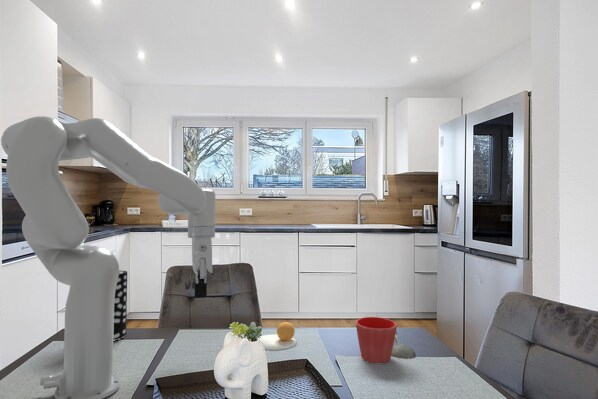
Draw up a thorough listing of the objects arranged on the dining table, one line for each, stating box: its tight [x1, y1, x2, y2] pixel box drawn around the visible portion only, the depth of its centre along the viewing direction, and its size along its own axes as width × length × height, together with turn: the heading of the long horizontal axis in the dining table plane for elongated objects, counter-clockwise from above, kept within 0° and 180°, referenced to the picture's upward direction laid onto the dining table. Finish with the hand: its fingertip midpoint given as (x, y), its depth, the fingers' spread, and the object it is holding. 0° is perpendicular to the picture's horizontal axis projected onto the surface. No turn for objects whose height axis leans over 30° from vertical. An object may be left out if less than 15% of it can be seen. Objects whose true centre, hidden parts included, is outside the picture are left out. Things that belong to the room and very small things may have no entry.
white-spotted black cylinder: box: [113, 270, 128, 339], centre depth 118 cm, size 8×8×20 cm
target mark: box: [259, 334, 297, 351], centre depth 115 cm, size 13×13×1 cm
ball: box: [276, 321, 295, 341], centre depth 117 cm, size 6×6×6 cm
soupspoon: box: [391, 331, 416, 360], centre depth 114 cm, size 22×3×7 cm
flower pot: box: [355, 316, 398, 364], centre depth 104 cm, size 11×11×10 cm
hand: (200, 296), depth 108 cm, fingers closed
